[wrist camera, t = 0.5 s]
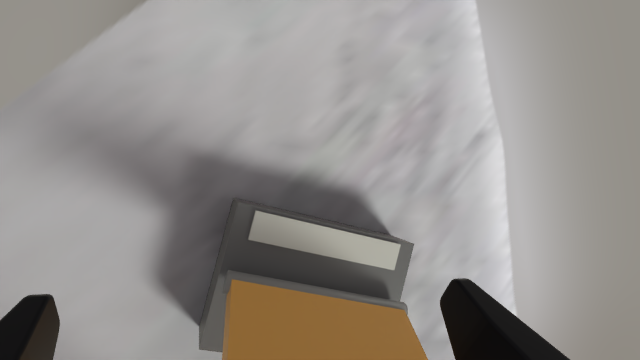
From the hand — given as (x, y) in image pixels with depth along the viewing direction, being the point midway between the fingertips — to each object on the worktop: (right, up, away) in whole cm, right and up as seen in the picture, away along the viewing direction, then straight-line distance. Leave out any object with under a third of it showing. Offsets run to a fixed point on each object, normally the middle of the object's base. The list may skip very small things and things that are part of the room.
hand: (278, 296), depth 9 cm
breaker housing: (0, -4, +16) cm, 17 cm away
